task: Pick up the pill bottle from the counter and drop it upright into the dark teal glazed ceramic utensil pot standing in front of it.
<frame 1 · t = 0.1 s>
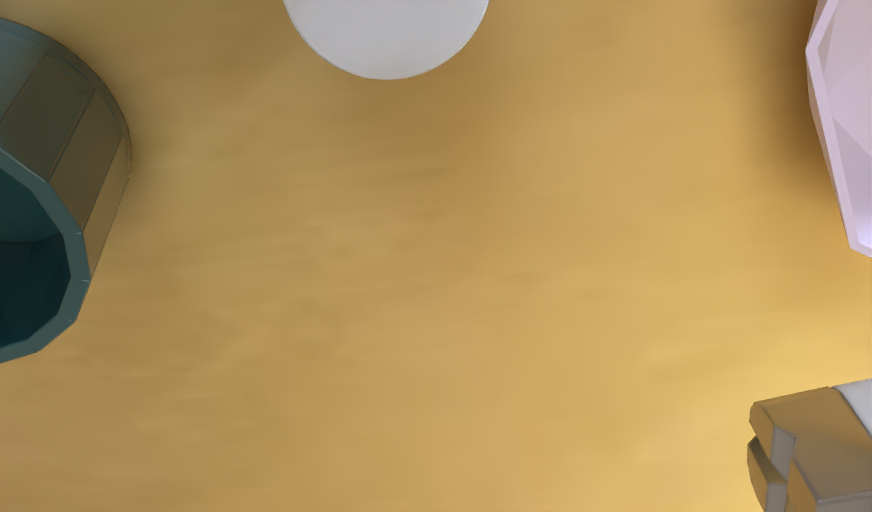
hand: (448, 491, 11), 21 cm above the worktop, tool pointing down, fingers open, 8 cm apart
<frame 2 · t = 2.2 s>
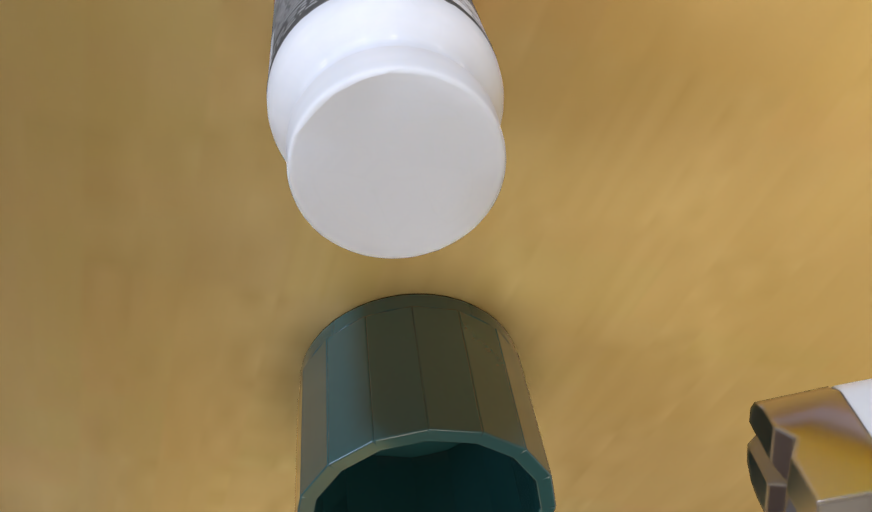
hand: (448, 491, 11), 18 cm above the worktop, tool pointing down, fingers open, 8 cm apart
holder: (410, 378, 35), on the worktop
pill bottle: (371, 2, 26), on the worktop
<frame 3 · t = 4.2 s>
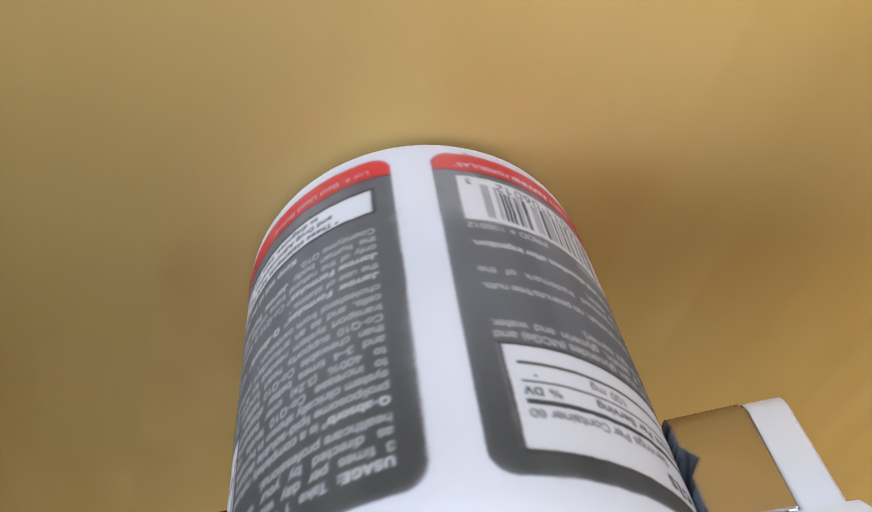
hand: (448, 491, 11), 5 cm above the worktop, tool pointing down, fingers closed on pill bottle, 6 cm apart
pill bottle: (418, 267, 15), on the worktop, touching gripper
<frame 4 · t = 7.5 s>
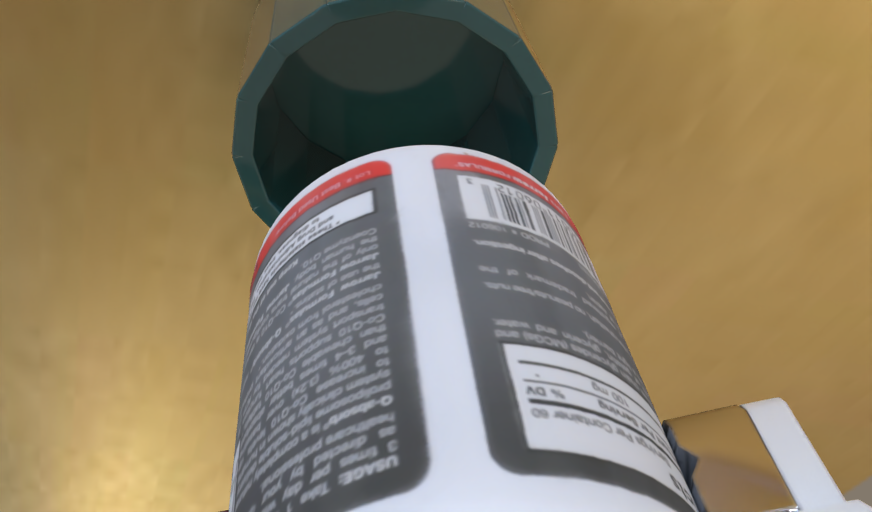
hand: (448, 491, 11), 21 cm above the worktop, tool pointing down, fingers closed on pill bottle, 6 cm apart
holder: (385, 53, 29), on the worktop
pill bottle: (419, 267, 15), point 16 cm above the worktop, touching gripper
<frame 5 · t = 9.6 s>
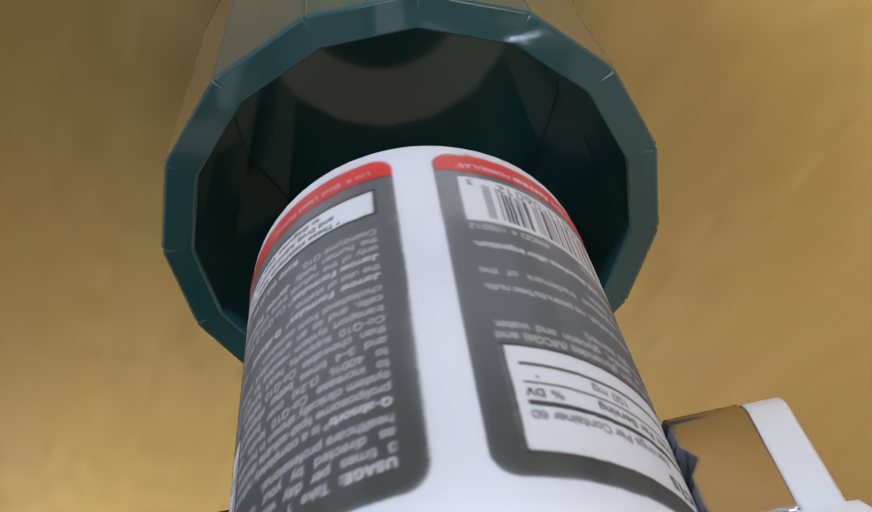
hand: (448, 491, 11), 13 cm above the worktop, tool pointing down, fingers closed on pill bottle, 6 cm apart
holder: (394, 80, 21), on the worktop
pill bottle: (419, 268, 15), point 8 cm above the worktop, touching gripper
when the fingers open (9 cm above the worktop, at t = 11.2 s): pill bottle drops 3 cm, point 1 cm above the worktop.
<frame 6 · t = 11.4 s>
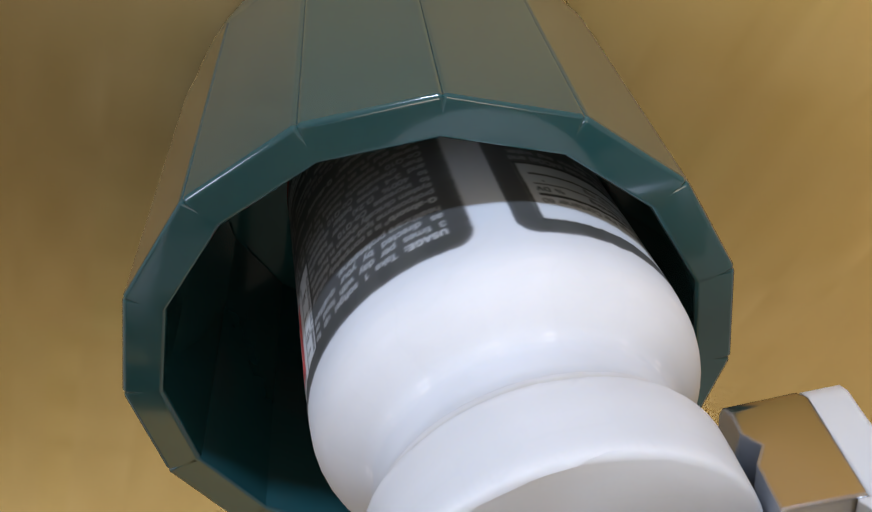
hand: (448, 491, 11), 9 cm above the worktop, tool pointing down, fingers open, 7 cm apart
holder: (404, 150, 18), on the worktop
pill bottle: (422, 163, 18), point 1 cm above the worktop, touching gripper
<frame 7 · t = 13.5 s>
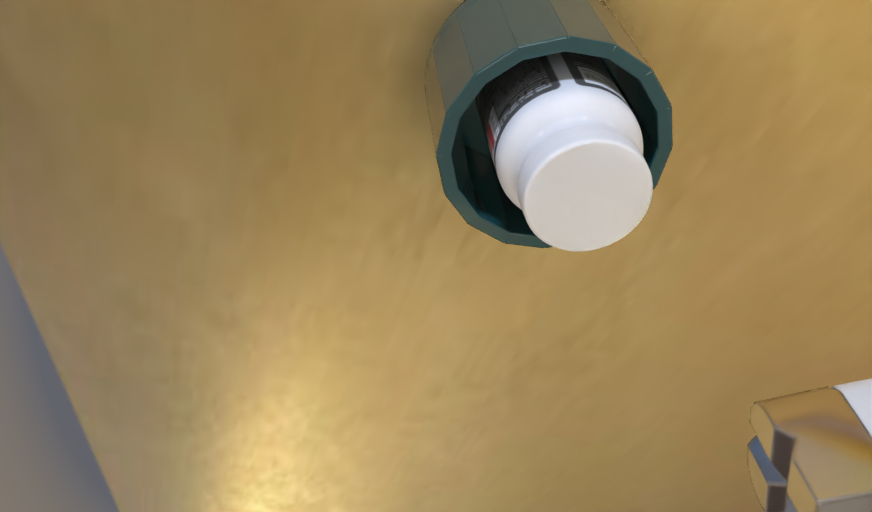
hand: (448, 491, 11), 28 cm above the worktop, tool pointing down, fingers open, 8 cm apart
holder: (525, 76, 38), on the worktop
pill bottle: (535, 78, 38), point 1 cm above the worktop, touching holder
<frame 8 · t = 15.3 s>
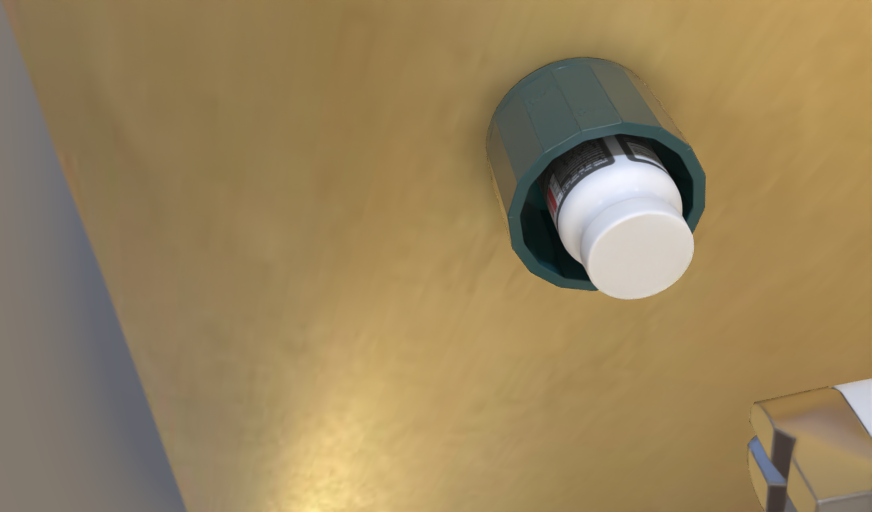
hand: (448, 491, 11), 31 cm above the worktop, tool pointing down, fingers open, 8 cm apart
holder: (571, 139, 44), on the worktop
pill bottle: (581, 142, 43), point 1 cm above the worktop, touching holder
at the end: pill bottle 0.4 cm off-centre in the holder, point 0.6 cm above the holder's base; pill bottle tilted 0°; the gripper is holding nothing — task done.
